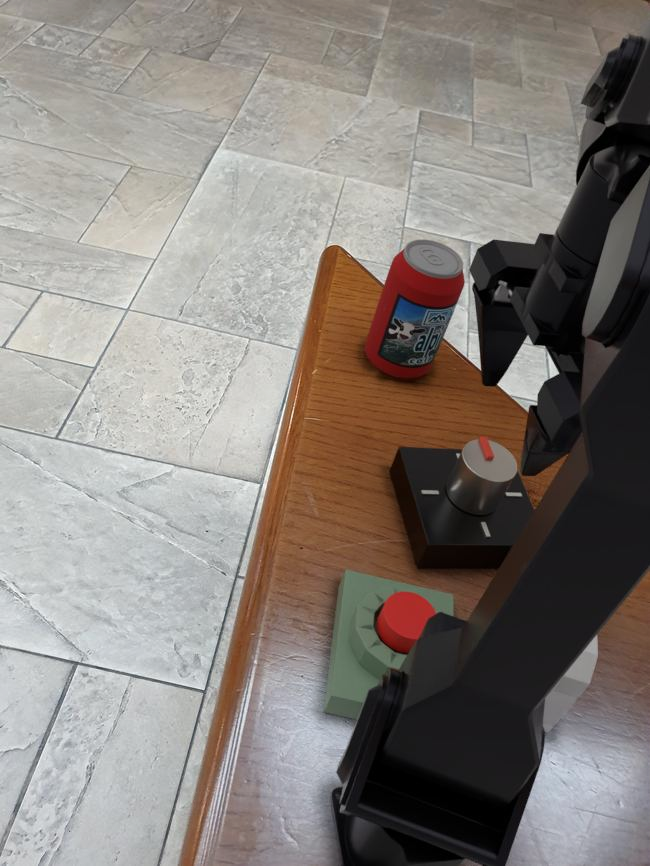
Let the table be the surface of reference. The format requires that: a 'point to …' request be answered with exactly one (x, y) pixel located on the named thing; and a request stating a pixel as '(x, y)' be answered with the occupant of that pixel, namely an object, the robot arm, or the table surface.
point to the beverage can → (415, 308)
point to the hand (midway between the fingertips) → (507, 427)
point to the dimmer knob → (481, 476)
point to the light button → (403, 620)
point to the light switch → (570, 686)
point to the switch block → (365, 639)
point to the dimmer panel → (453, 513)
